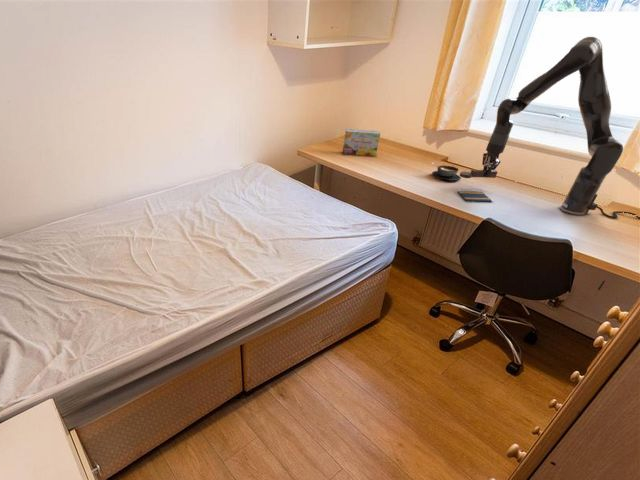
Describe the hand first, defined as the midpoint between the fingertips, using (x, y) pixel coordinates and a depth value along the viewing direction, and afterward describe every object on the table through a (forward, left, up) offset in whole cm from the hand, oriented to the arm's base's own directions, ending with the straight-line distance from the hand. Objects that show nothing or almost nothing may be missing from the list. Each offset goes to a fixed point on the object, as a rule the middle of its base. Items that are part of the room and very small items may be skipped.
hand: (485, 175), depth 196 cm
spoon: (+4, 0, -1) cm, 4 cm away
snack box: (+54, -53, -7) cm, 76 cm away
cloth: (+8, +12, -7) cm, 16 cm away
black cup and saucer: (+13, -15, -7) cm, 21 cm away
